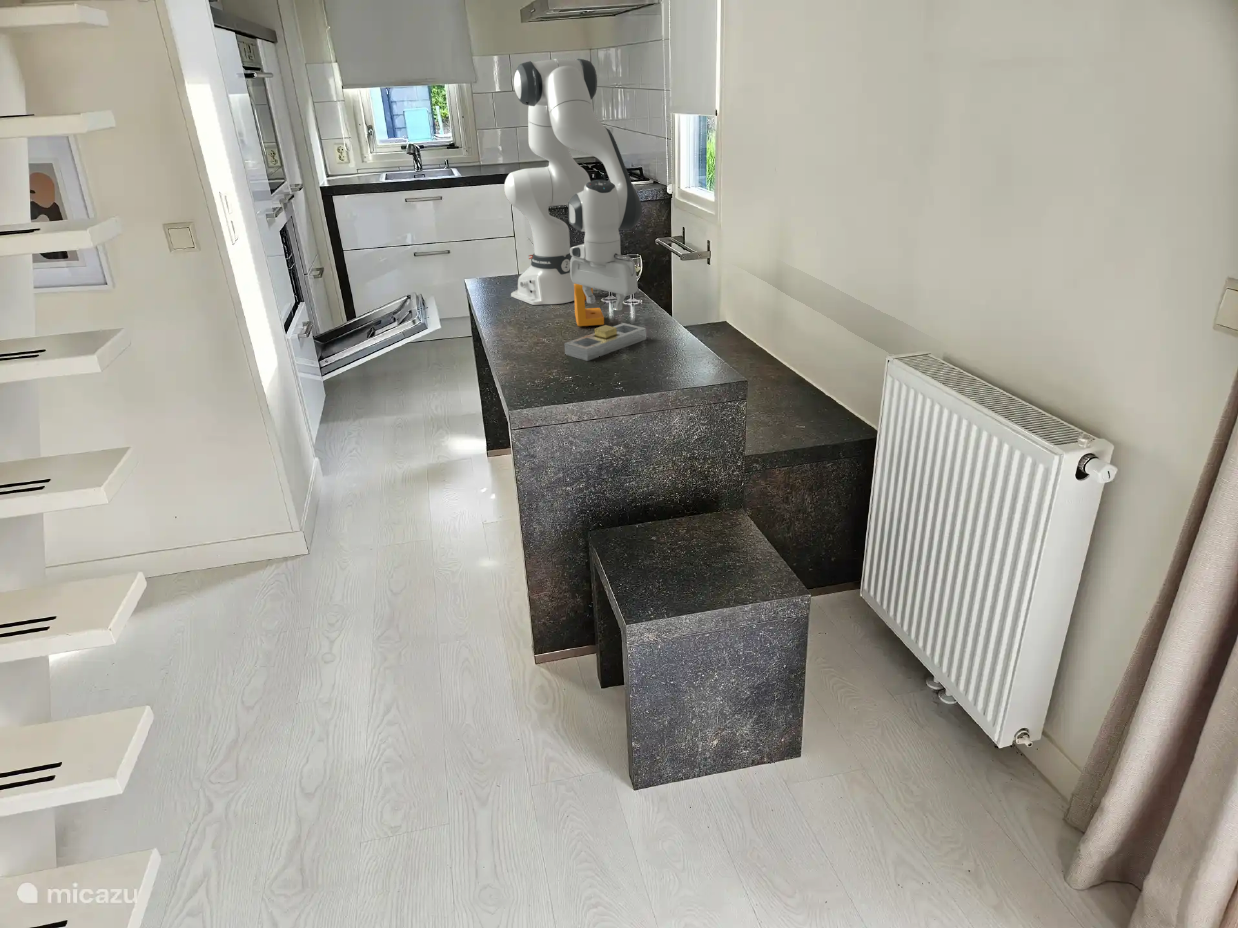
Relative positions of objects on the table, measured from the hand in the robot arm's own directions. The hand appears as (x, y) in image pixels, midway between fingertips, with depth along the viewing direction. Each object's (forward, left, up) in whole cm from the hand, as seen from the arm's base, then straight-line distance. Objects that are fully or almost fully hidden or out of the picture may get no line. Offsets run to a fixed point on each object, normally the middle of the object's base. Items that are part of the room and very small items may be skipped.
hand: (604, 306), depth 205 cm
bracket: (-18, +13, -11) cm, 25 cm away
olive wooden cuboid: (0, 0, -11) cm, 11 cm away
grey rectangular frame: (+1, 0, -11) cm, 11 cm away
